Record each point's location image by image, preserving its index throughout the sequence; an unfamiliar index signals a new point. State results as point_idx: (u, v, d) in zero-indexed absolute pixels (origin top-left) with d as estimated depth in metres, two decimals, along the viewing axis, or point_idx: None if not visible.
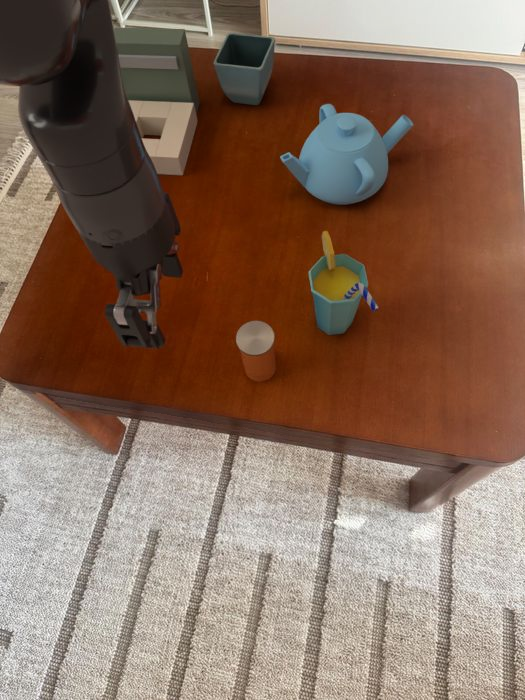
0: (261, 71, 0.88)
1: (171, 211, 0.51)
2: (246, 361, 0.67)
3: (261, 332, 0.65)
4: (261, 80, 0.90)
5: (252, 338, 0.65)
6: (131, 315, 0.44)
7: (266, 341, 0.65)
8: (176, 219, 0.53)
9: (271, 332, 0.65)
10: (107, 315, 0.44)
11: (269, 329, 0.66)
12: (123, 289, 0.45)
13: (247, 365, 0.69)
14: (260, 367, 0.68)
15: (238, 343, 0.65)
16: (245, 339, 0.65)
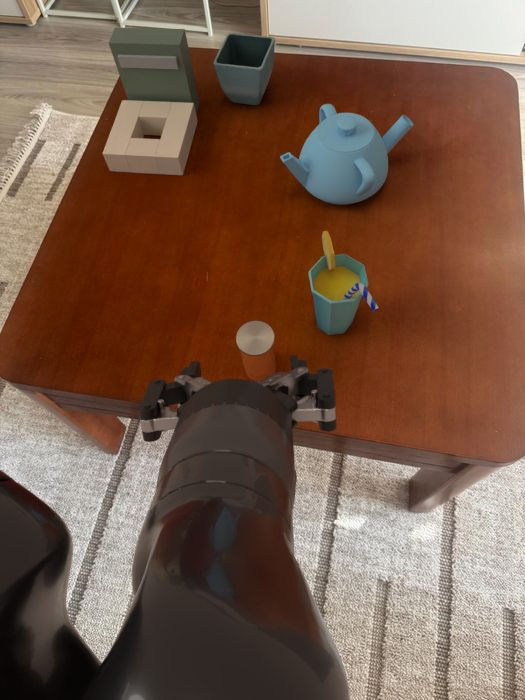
0: (261, 71, 0.88)
1: None
2: (246, 361, 0.67)
3: (261, 332, 0.65)
4: (261, 80, 0.90)
5: (252, 338, 0.65)
6: (144, 439, 0.37)
7: (266, 341, 0.65)
8: None
9: (271, 332, 0.65)
10: None
11: (269, 329, 0.66)
12: (176, 419, 0.36)
13: (247, 365, 0.69)
14: (260, 367, 0.68)
15: (238, 343, 0.65)
16: (245, 339, 0.65)
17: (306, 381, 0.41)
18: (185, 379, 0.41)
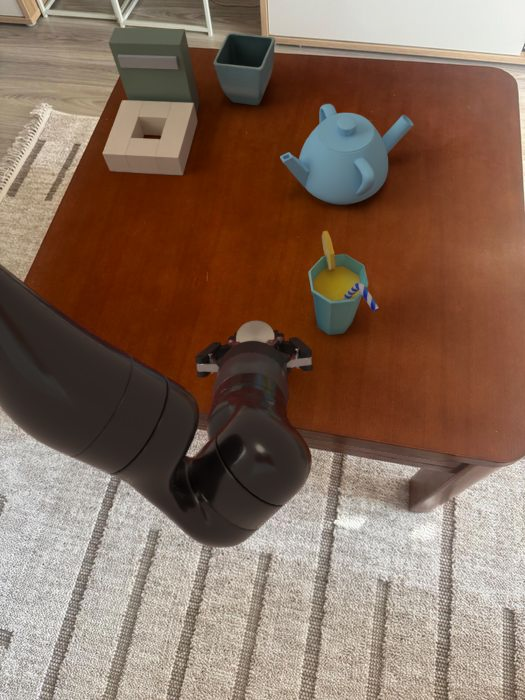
0: (261, 71, 0.88)
1: None
2: None
3: (261, 332, 0.65)
4: (261, 80, 0.90)
5: (252, 338, 0.65)
6: None
7: (266, 340, 0.65)
8: None
9: (271, 332, 0.65)
10: (195, 358, 0.61)
11: (269, 329, 0.66)
12: (215, 366, 0.60)
13: None
14: None
15: None
16: (245, 339, 0.65)
17: (282, 345, 0.64)
18: (232, 342, 0.65)
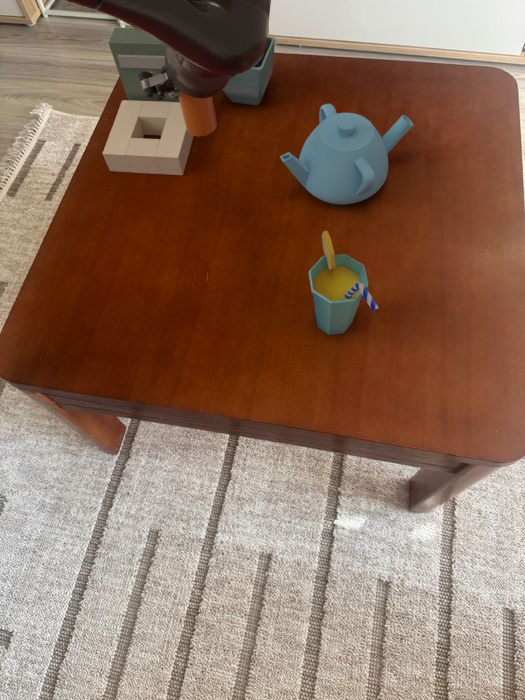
0: (261, 71, 0.88)
1: None
2: (187, 100, 0.68)
3: None
4: (261, 80, 0.90)
5: None
6: (146, 95, 0.61)
7: None
8: None
9: None
10: None
11: None
12: (160, 75, 0.60)
13: (189, 108, 0.69)
14: (202, 106, 0.69)
15: None
16: None
17: None
18: None
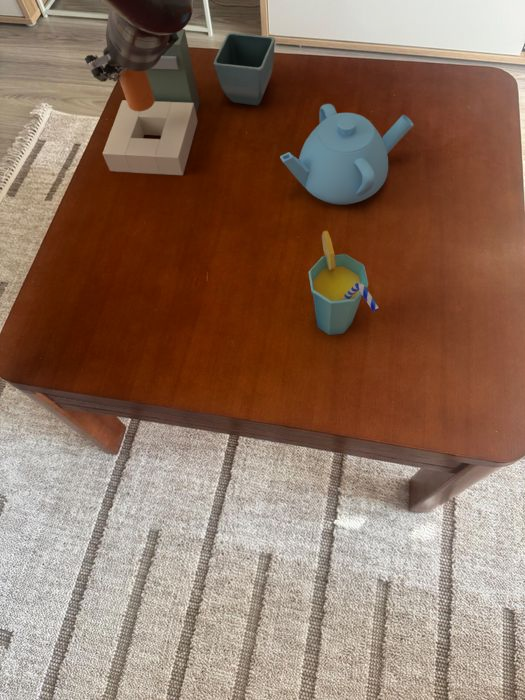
0: (261, 71, 0.88)
1: (170, 45, 0.76)
2: (127, 79, 0.80)
3: None
4: (261, 80, 0.90)
5: None
6: (94, 75, 0.72)
7: None
8: (167, 49, 0.78)
9: None
10: (85, 60, 0.72)
11: None
12: (104, 56, 0.72)
13: (129, 86, 0.81)
14: (141, 83, 0.81)
15: None
16: None
17: None
18: None
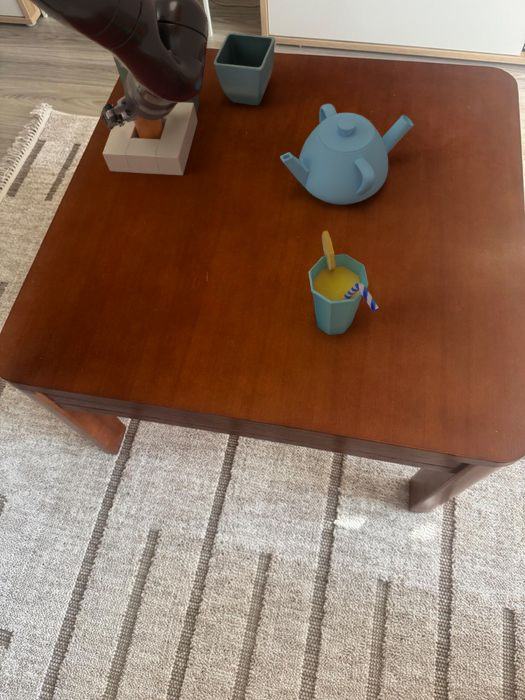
0: (261, 71, 0.88)
1: None
2: (143, 128, 0.88)
3: None
4: (261, 80, 0.90)
5: None
6: (112, 121, 0.78)
7: None
8: None
9: None
10: (104, 107, 0.78)
11: None
12: (122, 105, 0.78)
13: (145, 134, 0.89)
14: (155, 130, 0.89)
15: None
16: None
17: None
18: None
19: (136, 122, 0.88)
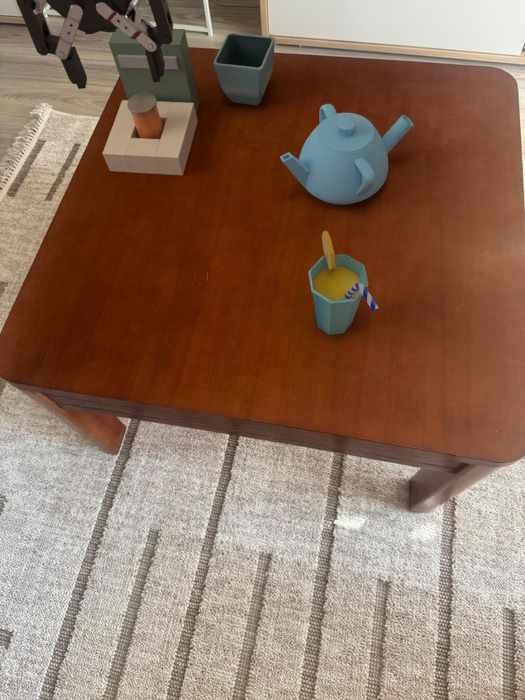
0: (261, 71, 0.88)
1: (156, 8, 0.51)
2: (143, 128, 0.88)
3: (144, 98, 0.86)
4: (261, 80, 0.90)
5: (140, 103, 0.86)
6: None
7: (150, 100, 0.86)
8: (165, 26, 0.53)
9: (151, 95, 0.87)
10: None
11: (148, 94, 0.87)
12: None
13: (145, 134, 0.89)
14: (155, 130, 0.89)
15: (132, 109, 0.85)
16: (135, 105, 0.86)
17: (153, 28, 0.55)
18: None
19: (136, 122, 0.88)
